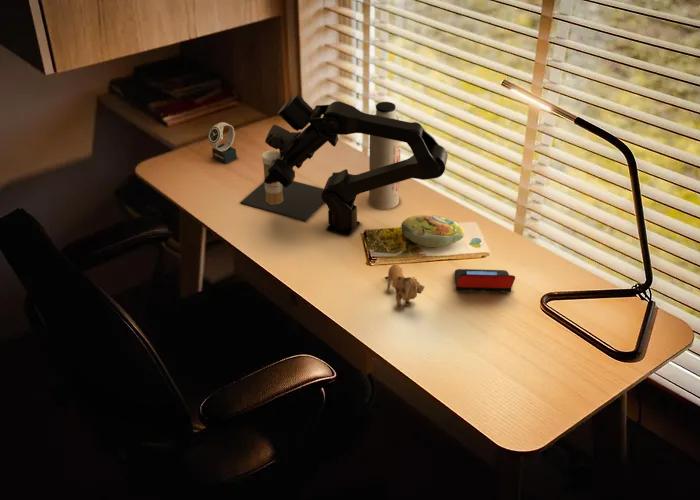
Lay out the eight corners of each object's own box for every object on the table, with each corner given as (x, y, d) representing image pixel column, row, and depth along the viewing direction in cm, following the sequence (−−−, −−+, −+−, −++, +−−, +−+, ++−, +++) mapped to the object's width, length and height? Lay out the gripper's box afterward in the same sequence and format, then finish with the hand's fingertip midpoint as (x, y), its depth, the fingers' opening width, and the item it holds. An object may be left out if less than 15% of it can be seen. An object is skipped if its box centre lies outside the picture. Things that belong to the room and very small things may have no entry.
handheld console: (507, 273, 185) (511, 247, 181) (512, 302, 177) (516, 276, 172) (453, 272, 186) (456, 246, 182) (456, 301, 177) (458, 274, 173)
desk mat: (334, 192, 216) (334, 191, 216) (305, 221, 204) (305, 220, 204) (271, 176, 223) (271, 175, 223) (240, 203, 212) (240, 202, 211)
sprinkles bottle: (264, 204, 200) (260, 157, 192) (268, 195, 203) (263, 149, 196) (282, 205, 199) (278, 158, 191) (285, 196, 203) (282, 149, 195)
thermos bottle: (404, 199, 213) (408, 103, 196) (387, 212, 207) (390, 114, 191) (380, 190, 217) (382, 95, 200) (363, 202, 211) (363, 106, 195)
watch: (207, 160, 231) (203, 126, 225) (228, 150, 236) (225, 117, 230) (220, 166, 228) (216, 132, 222) (241, 156, 233) (238, 122, 227)
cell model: (405, 214, 202) (461, 203, 196) (413, 242, 204) (469, 232, 198) (393, 228, 193) (451, 217, 187) (402, 257, 195) (460, 247, 189)
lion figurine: (425, 313, 174) (427, 280, 169) (404, 319, 172) (405, 287, 167) (394, 276, 185) (395, 245, 179) (374, 282, 183) (374, 251, 178)
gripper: (294, 101, 195) (254, 138, 203) (273, 136, 180) (232, 174, 188) (326, 133, 198) (286, 168, 206) (309, 169, 183) (266, 205, 191)
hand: (267, 177), depth 198 cm, fingers closed on sprinkles bottle, 4 cm apart
